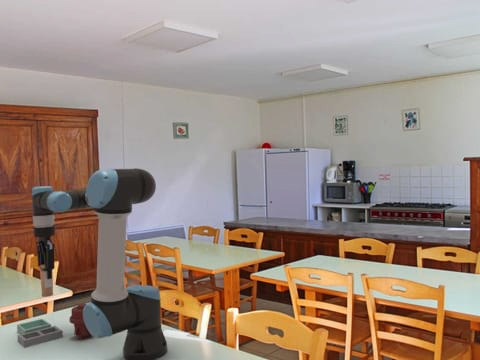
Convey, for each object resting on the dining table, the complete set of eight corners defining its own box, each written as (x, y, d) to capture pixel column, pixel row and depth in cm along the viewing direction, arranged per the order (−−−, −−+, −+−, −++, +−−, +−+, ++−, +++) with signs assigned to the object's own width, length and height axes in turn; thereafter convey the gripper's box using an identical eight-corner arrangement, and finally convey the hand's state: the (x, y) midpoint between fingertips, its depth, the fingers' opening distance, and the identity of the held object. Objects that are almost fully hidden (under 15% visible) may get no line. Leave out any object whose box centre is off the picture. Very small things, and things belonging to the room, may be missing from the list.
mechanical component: (102, 332, 179) (89, 342, 169) (79, 331, 181) (65, 341, 171) (101, 301, 178) (87, 309, 169) (78, 301, 180) (63, 308, 171)
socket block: (62, 336, 175) (62, 330, 175) (24, 347, 166) (24, 340, 166) (55, 331, 181) (55, 325, 181) (17, 341, 172) (17, 335, 172)
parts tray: (51, 331, 182) (51, 324, 182) (25, 338, 175) (24, 330, 175) (42, 325, 189) (42, 318, 189) (17, 332, 182) (17, 324, 182)
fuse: (54, 295, 175) (53, 264, 175) (43, 297, 172) (42, 266, 172) (51, 293, 178) (49, 263, 178) (40, 295, 175) (38, 264, 175)
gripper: (62, 226, 171) (65, 287, 171) (46, 223, 183) (49, 280, 184) (41, 228, 166) (44, 292, 166) (26, 225, 178) (29, 284, 179)
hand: (47, 285), depth 175 cm, fingers closed on fuse, 4 cm apart
